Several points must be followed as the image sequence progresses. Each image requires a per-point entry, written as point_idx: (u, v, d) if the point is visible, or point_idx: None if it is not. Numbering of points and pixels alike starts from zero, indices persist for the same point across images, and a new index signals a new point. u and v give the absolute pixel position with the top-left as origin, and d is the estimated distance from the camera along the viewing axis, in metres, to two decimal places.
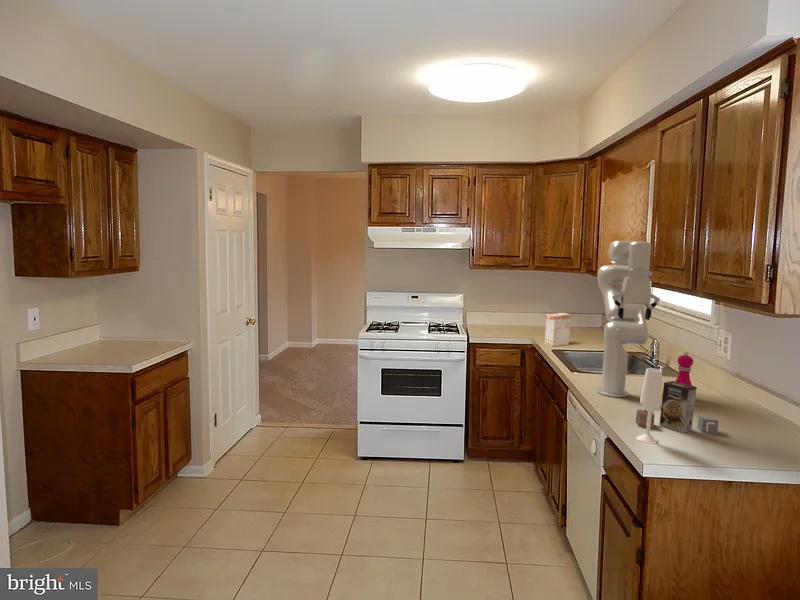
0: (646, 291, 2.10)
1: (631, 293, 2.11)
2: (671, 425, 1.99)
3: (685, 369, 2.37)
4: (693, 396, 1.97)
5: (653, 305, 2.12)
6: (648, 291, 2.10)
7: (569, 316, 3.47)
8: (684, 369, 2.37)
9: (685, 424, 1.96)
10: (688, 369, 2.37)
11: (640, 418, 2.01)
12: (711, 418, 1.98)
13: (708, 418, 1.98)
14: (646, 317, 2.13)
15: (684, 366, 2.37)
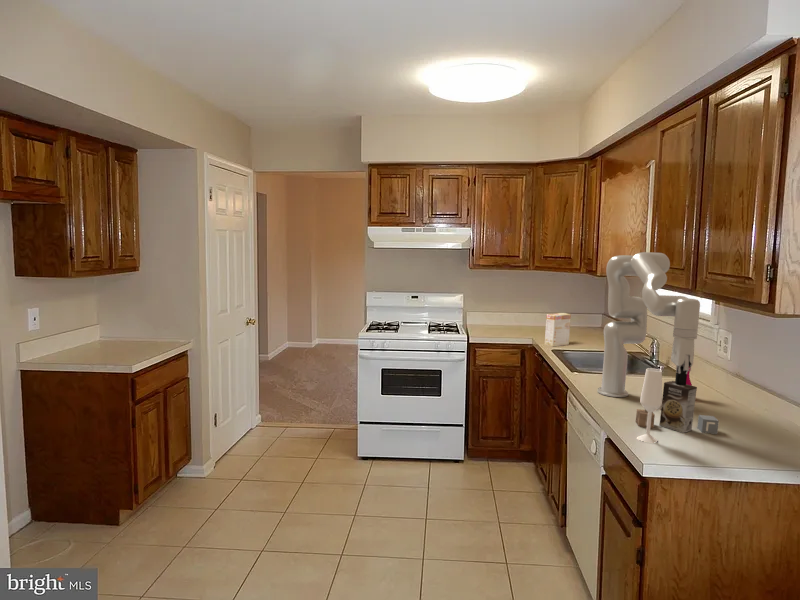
0: None
1: None
2: (671, 425, 1.99)
3: None
4: (693, 396, 1.96)
5: None
6: None
7: (569, 316, 3.47)
8: None
9: (685, 424, 1.96)
10: None
11: (640, 418, 2.01)
12: (711, 418, 1.98)
13: (708, 418, 1.98)
14: None
15: None
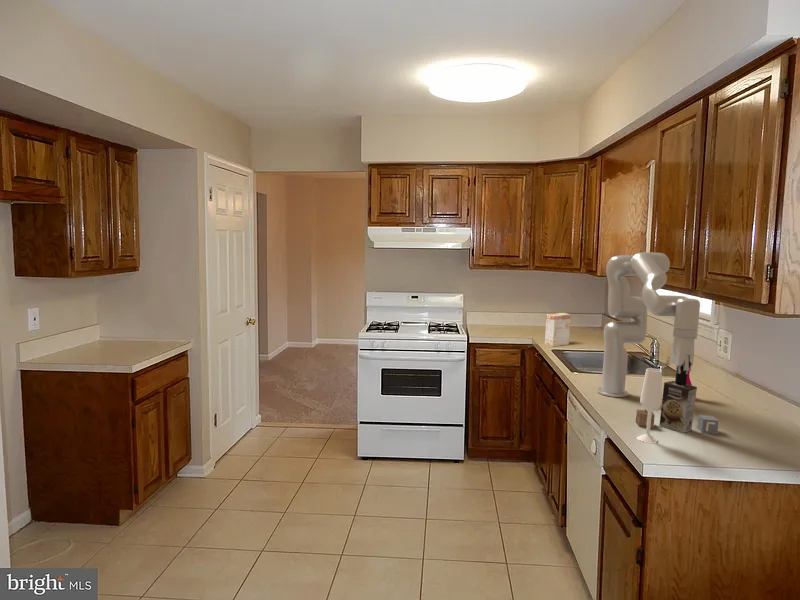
0: None
1: None
2: (671, 425, 1.99)
3: None
4: (693, 396, 1.96)
5: None
6: None
7: (569, 316, 3.47)
8: None
9: (685, 424, 1.96)
10: None
11: (640, 418, 2.01)
12: (711, 418, 1.98)
13: (708, 418, 1.98)
14: None
15: None
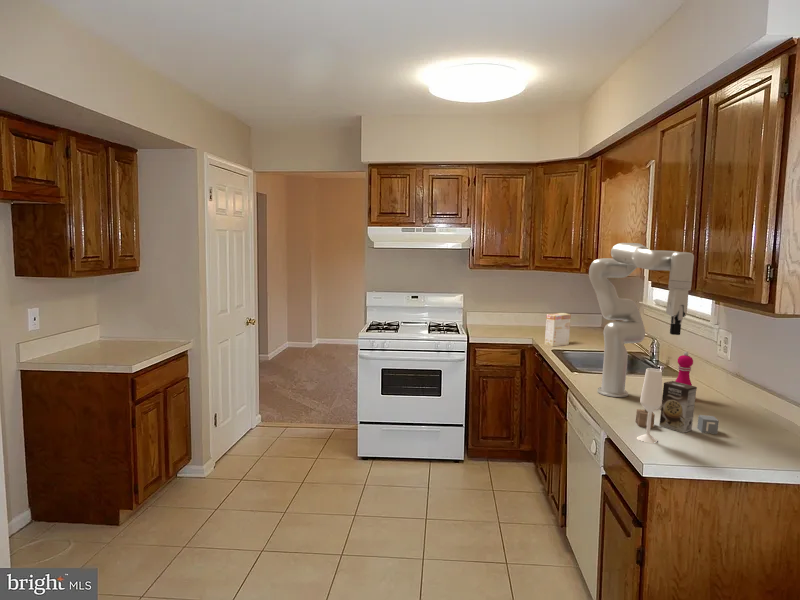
0: None
1: None
2: (671, 425, 1.99)
3: (685, 369, 2.37)
4: (693, 396, 1.97)
5: None
6: None
7: (569, 316, 3.47)
8: (684, 369, 2.37)
9: (685, 424, 1.96)
10: (688, 369, 2.37)
11: (640, 418, 2.00)
12: (711, 418, 1.98)
13: (708, 418, 1.98)
14: None
15: (684, 366, 2.37)
